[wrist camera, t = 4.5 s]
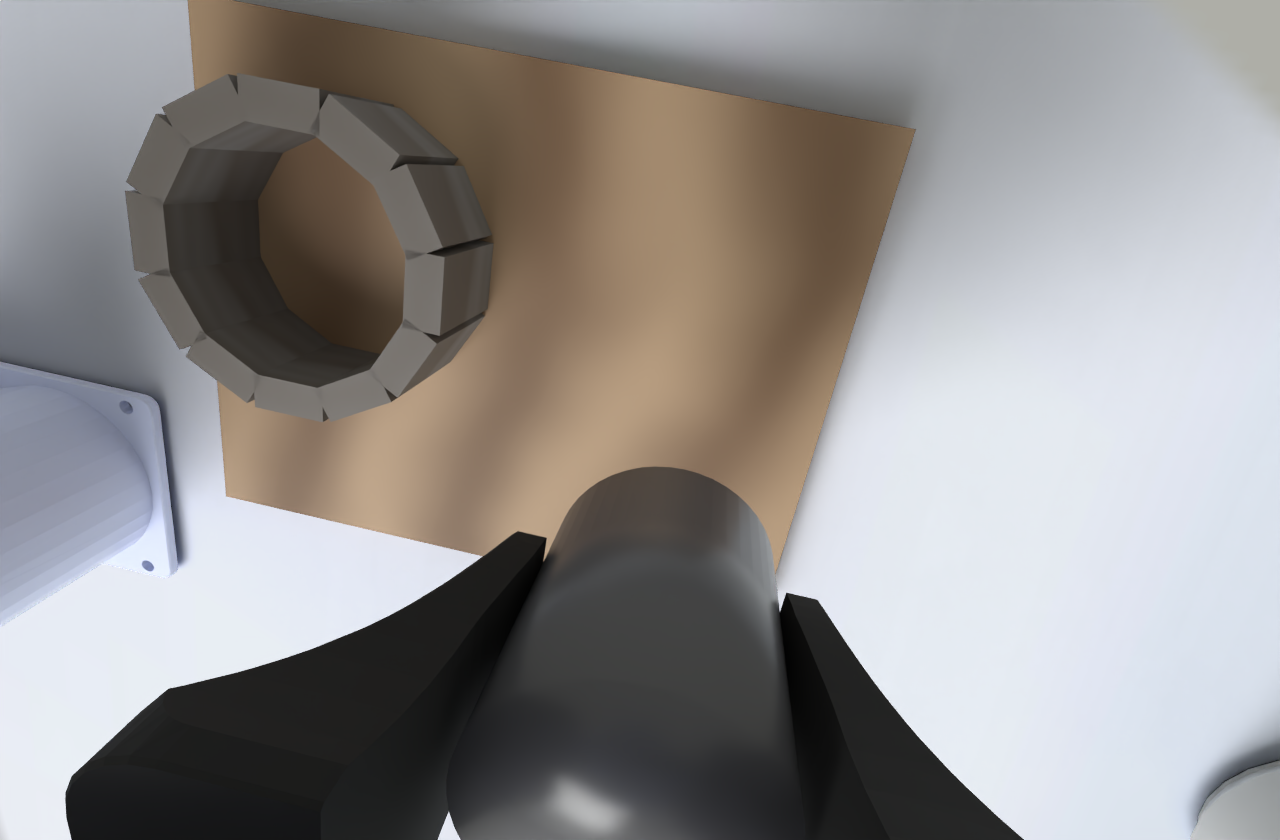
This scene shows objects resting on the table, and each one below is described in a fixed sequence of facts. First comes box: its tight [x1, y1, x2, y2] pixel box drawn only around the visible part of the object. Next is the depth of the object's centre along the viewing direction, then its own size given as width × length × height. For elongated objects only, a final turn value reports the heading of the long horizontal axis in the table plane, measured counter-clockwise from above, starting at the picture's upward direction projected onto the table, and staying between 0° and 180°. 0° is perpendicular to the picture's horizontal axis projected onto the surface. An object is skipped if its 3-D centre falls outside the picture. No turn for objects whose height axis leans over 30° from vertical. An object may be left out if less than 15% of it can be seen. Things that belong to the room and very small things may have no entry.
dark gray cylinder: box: [446, 466, 805, 840], centre depth 11 cm, size 5×5×6 cm
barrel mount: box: [125, 0, 916, 574], centre depth 19 cm, size 20×16×4 cm
